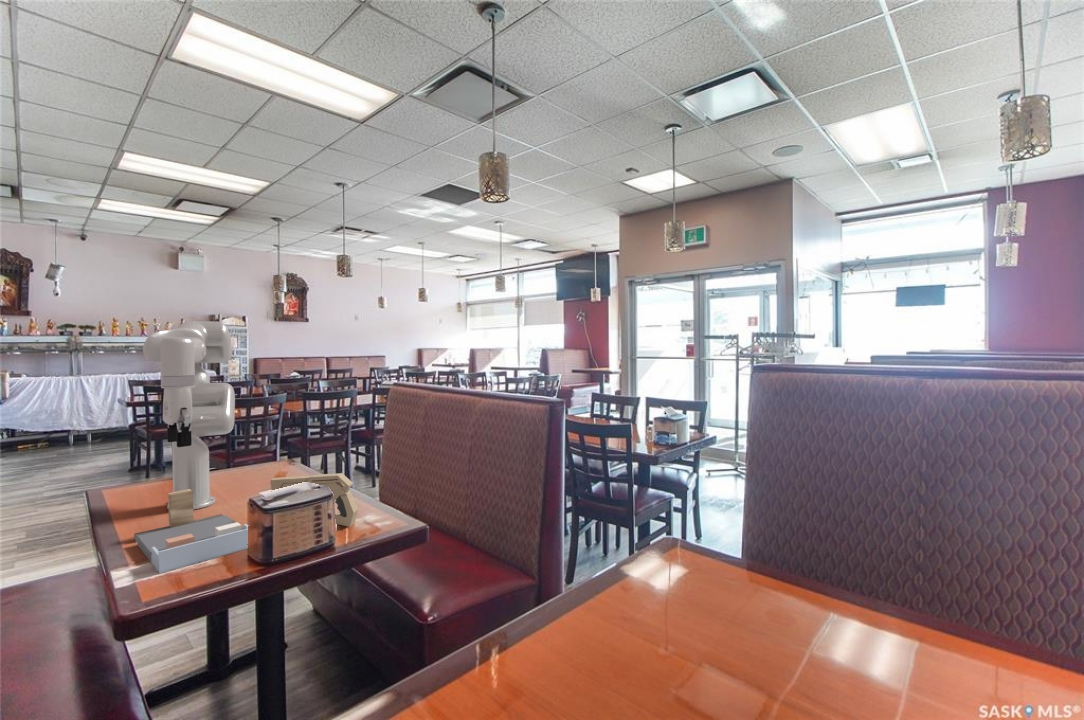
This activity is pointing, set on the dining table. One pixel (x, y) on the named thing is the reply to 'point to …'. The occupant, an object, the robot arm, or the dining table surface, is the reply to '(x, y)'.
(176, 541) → the tile terracotta
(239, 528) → the tile cream
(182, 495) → the scraper
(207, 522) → the board
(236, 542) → the box
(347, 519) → the gun
